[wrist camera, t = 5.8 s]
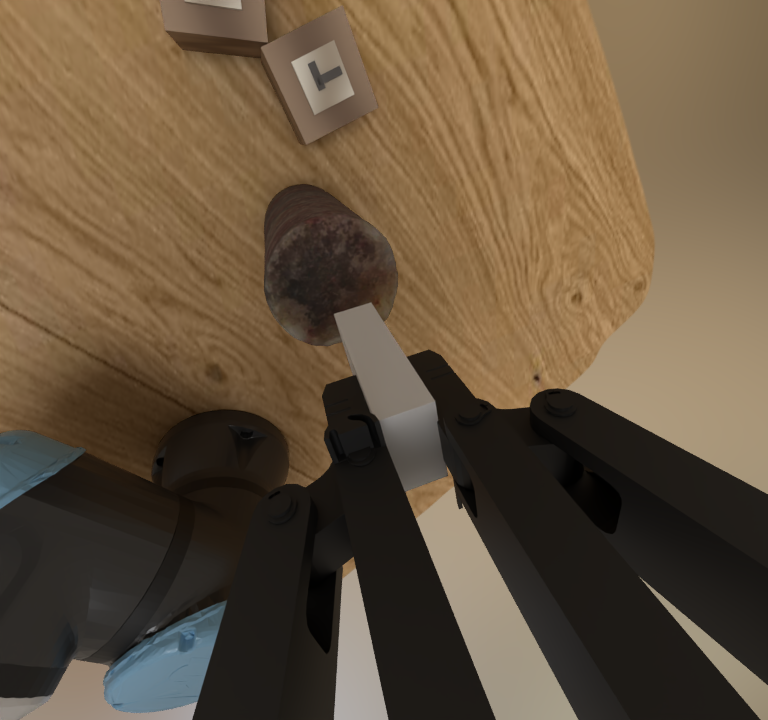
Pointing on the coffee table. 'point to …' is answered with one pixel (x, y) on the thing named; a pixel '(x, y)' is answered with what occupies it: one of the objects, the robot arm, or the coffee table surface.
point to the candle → (323, 264)
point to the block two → (319, 76)
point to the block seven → (217, 25)
